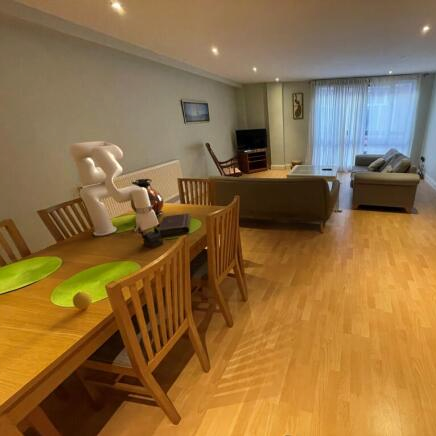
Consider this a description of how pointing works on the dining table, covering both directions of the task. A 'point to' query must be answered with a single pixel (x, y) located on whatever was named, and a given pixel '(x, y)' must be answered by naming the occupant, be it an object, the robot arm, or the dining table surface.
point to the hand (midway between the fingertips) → (151, 237)
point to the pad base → (153, 243)
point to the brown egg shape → (82, 300)
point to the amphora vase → (150, 196)
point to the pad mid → (153, 236)
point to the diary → (174, 225)
